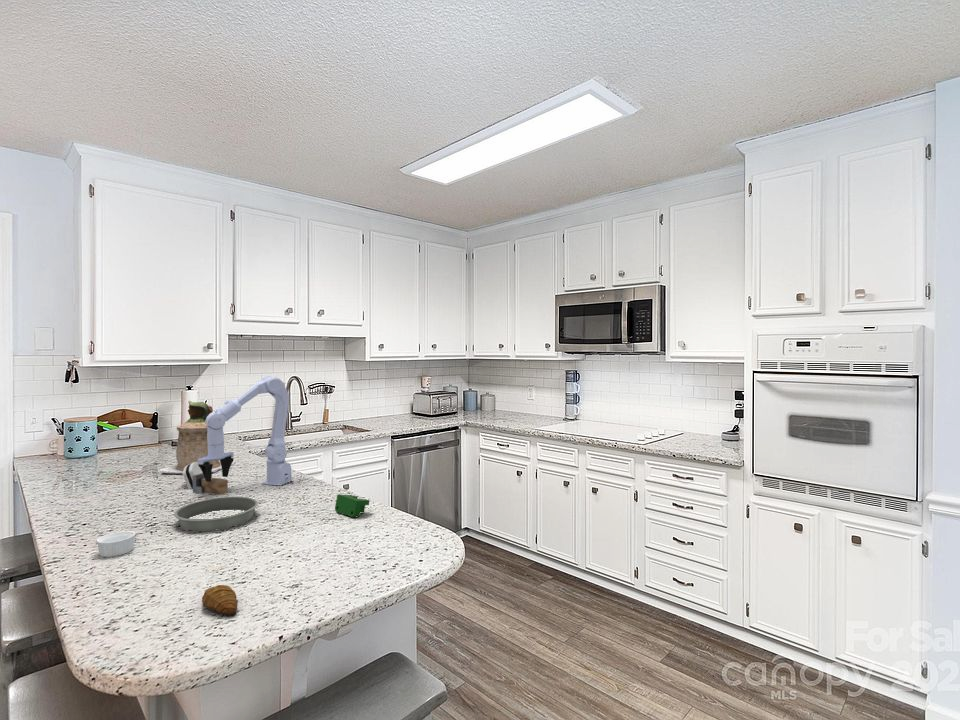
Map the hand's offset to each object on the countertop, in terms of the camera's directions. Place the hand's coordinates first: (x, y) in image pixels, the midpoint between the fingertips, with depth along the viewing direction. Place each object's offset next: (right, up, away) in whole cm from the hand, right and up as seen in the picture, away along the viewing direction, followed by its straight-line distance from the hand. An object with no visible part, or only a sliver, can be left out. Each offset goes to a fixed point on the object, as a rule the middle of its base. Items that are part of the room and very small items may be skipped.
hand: (216, 478), depth 205 cm
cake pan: (+17, -7, -33) cm, 37 cm away
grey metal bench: (-6, -5, +3) cm, 8 cm away
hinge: (-15, -5, +13) cm, 21 cm away
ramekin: (+2, -7, -59) cm, 59 cm away
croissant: (+46, -8, -90) cm, 101 cm away
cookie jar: (-29, -5, +41) cm, 51 cm away
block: (-1, -5, +1) cm, 5 cm away
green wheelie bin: (+59, -6, -27) cm, 65 cm away
